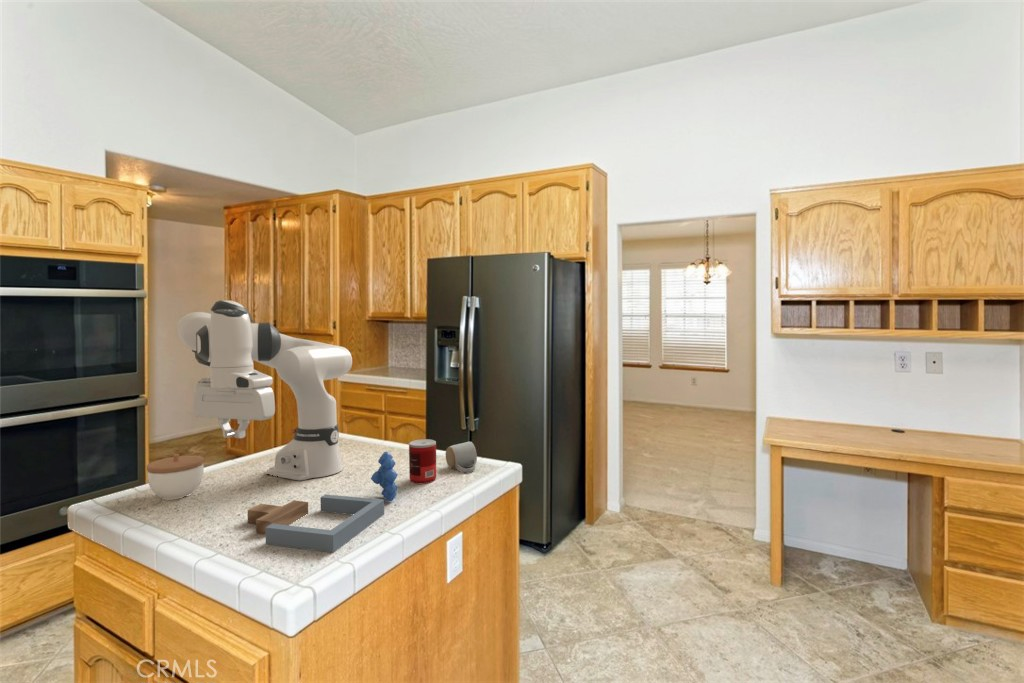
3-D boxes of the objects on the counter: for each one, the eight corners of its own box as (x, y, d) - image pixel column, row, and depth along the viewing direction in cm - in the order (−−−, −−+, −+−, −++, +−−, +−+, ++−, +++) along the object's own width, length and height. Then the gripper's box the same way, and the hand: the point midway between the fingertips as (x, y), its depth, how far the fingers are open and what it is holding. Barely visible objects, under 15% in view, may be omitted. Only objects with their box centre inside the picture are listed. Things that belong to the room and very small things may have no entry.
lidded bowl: (182, 504, 123) (180, 461, 123) (135, 503, 124) (133, 460, 124) (215, 487, 136) (214, 448, 136) (172, 487, 137) (171, 448, 136)
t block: (233, 530, 107) (233, 516, 107) (273, 509, 119) (272, 497, 119) (271, 535, 105) (271, 521, 105) (308, 514, 116) (308, 502, 116)
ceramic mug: (444, 466, 155) (444, 442, 154) (467, 462, 159) (467, 439, 158) (457, 475, 146) (457, 450, 145) (482, 471, 150) (482, 446, 149)
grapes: (366, 494, 129) (366, 449, 129) (392, 490, 132) (391, 446, 132) (375, 509, 119) (374, 460, 119) (402, 504, 122) (402, 457, 122)
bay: (265, 544, 100) (265, 527, 100) (325, 508, 120) (325, 494, 120) (333, 552, 96) (333, 535, 96) (384, 514, 116) (384, 499, 116)
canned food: (439, 475, 145) (438, 439, 145) (432, 484, 137) (431, 445, 137) (414, 475, 146) (413, 438, 145) (406, 483, 138) (405, 445, 137)
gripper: (184, 379, 113) (186, 438, 113) (258, 381, 108) (260, 442, 108) (208, 376, 119) (209, 432, 119) (278, 377, 114) (280, 436, 114)
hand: (234, 437), depth 114 cm, fingers closed
